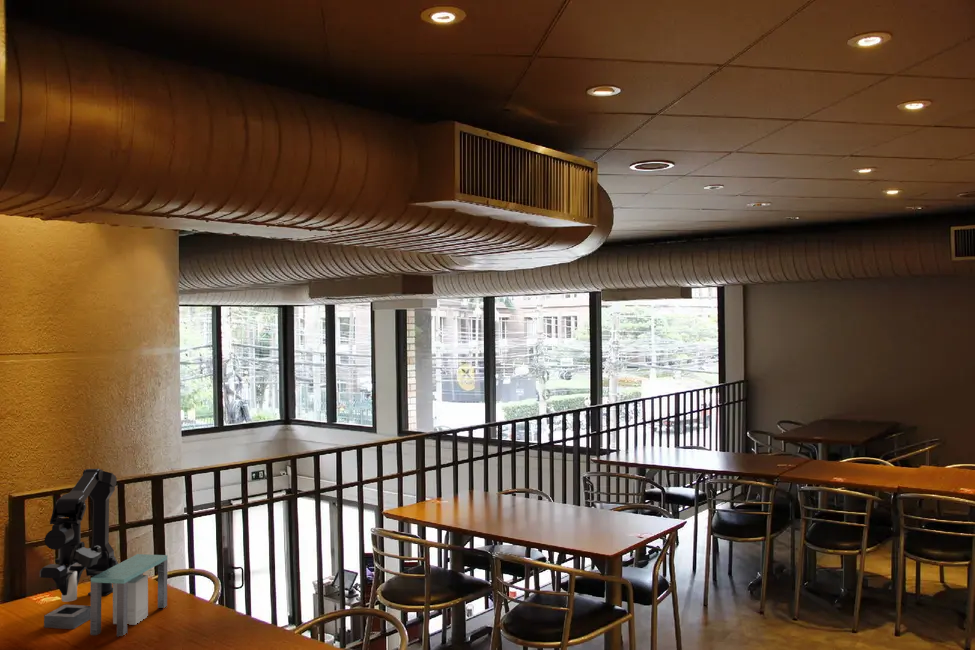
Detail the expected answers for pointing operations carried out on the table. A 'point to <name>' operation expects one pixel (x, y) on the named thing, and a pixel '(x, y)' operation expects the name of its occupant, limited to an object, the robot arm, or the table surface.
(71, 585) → the peg
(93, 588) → the miniature teal stool
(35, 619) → the table surface
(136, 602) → the supplement box
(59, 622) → the socket
